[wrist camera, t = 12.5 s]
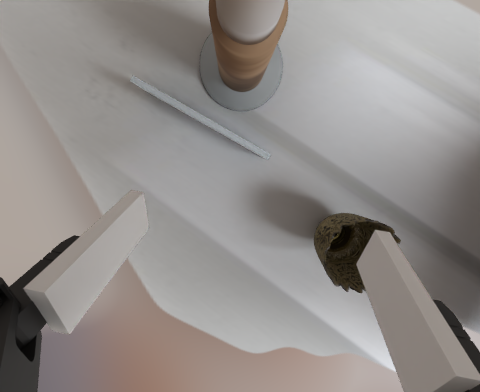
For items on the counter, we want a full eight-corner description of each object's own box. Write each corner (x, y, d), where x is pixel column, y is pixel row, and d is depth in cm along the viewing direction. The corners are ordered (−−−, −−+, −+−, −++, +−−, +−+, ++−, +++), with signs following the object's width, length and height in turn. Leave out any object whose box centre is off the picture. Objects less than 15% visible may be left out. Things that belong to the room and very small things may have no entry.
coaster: (297, 50, 25) (298, 49, 24) (256, 125, 26) (256, 125, 26) (224, 2, 23) (224, 1, 23) (185, 84, 25) (185, 83, 25)
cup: (296, 207, 28) (321, 229, 20) (354, 195, 28) (401, 214, 20) (304, 260, 30) (330, 300, 22) (359, 249, 30) (404, 286, 22)
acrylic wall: (265, 153, 27) (271, 154, 23) (263, 158, 27) (268, 159, 23) (148, 86, 25) (132, 74, 21) (145, 91, 25) (129, 81, 21)
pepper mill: (273, 57, 24) (311, -26, 13) (250, 100, 25) (266, 60, 13) (232, 31, 24) (232, -82, 12) (210, 76, 25) (190, 12, 13)
